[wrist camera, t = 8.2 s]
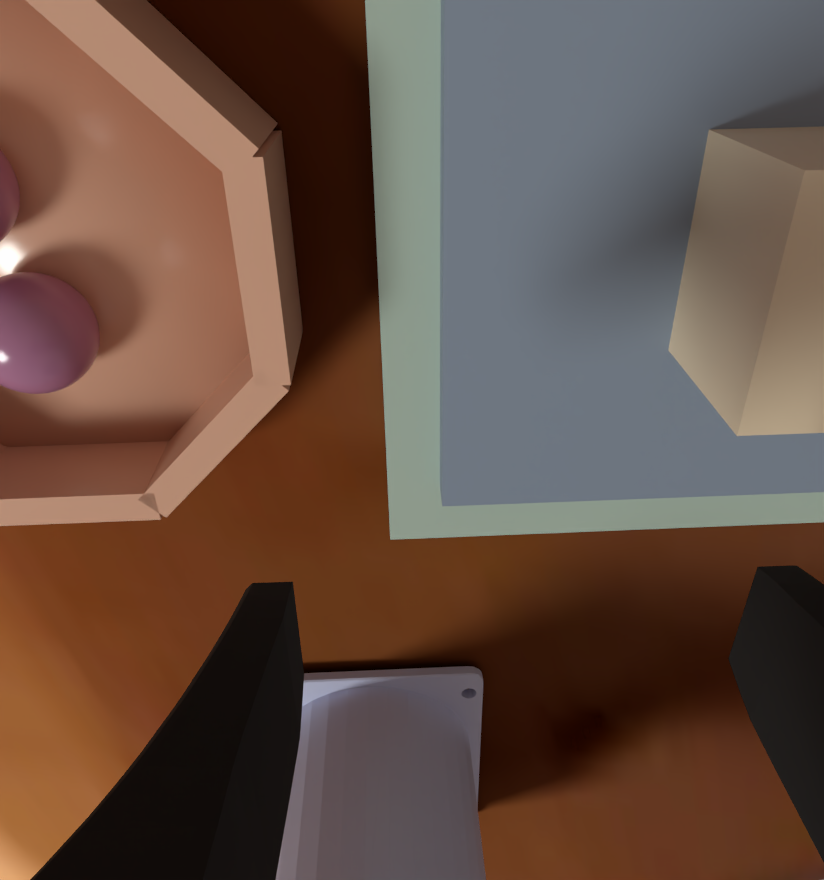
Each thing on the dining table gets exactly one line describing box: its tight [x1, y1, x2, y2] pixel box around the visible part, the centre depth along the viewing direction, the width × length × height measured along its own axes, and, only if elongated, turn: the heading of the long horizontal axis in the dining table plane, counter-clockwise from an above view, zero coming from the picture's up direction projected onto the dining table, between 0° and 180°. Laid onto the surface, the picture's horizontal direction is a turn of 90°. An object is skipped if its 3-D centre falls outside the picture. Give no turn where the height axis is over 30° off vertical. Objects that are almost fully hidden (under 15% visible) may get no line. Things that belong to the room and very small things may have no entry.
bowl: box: [0, 0, 303, 526], centre depth 16 cm, size 12×12×3 cm
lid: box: [440, 0, 824, 506], centre depth 15 cm, size 14×14×5 cm
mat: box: [365, 0, 824, 540], centre depth 17 cm, size 18×17×1 cm
